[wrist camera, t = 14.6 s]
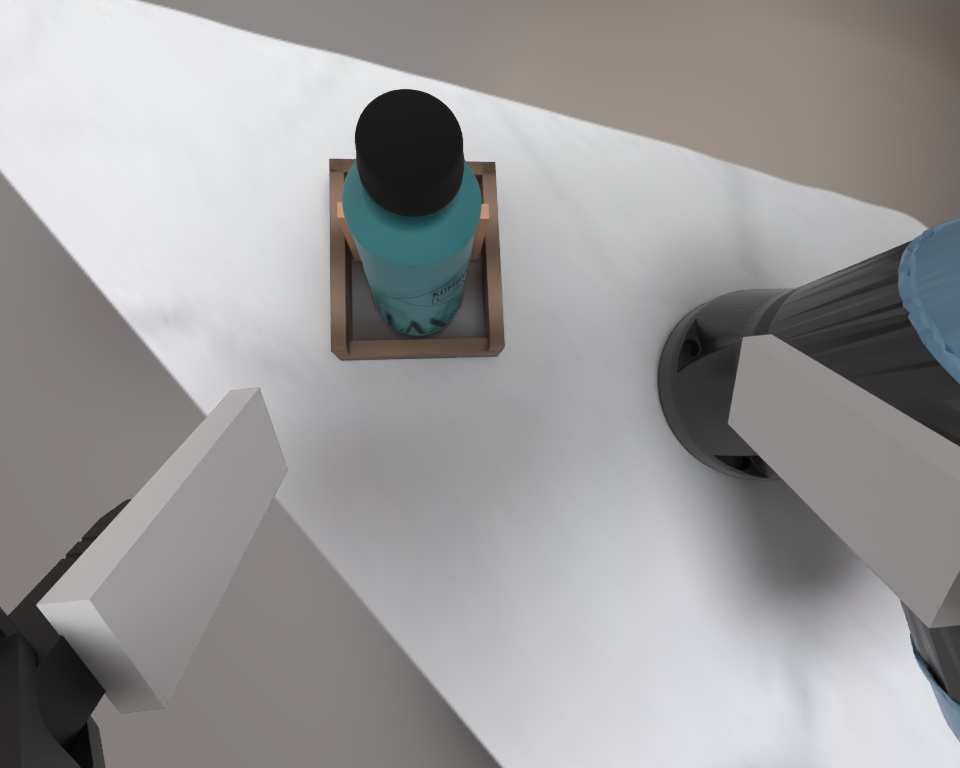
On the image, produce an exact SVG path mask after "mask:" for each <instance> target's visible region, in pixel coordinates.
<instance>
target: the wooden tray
mask: <svg viewBox="0 0 960 768" xmlns="http://www.w3.org/2000/svg"><path fill="white" fill-rule="evenodd" d="M355 161H356V159H329V169H330V289H331V352H333V353H334V354H335V355H336V356H337V357H338V358H339V359H340V360H378V359H417V358H456V357H495V356H498V355H499V353H500V352H501V351H502V350H503V348H504V347H505V343H504V324H503V305H502V285H501V266H500V246H499V227H498V208H497V188H496V169H495V162H467V164H468V165H469V166H470V168H471V169H472V171H473V173H474V175H475V177H476V179H477V182H478V184H479V188H480V192H481V200H482V204H489V222H488V225H487V229H486V233H485V236H484V240H483V244H482V248H481V251H480V255H479V259H478V261H469V264H470V263H471V262H472V264H470V265H471V266H470V265H468V268H469V269H467V272H468V273H466V276H467V275H468V276H467V277H468V278H465V282H466V283H465V282H464V283H465V286H464V287H463V292H464V293H463V292H462V296H461V298H462V297H463V296H464V297H463V301H462V303H461V307H460V304H459V307H460V309H459V308H458V310H457V313H456V315H455V316H454V318H453V319H454V320H453V319H452V320H451V321H452V322H450V324H448V327H447V325H446V326H445V327H444V328H442V330H439V331H438V332H436V333H433V334H434V335H433V334H429V335H422V336H415V335H413V336H412V335H407V334H405V333H404V334H403V333H402V332H401V334H400V332H399V331H396V329H395V330H394V329H393V327H392V328H391V326H390V325H389V324H388V323H387V322H386V321H385V320H384V319H383V317H382V316H381V314H380V313H379V311H378V307H377V305H376V304H375V303H376V302H375V299H373V300H372V298H374V296H373V294H372V293H370V292H371V288H370V285H369V283H368V280H367V277H366V274H365V271H364V270H363V269H364V268H363V264H362V261H355V259H354V257H353V254H352V252H351V250H350V247H349V245H348V242H347V240H346V238H345V235H344V233H343V230H342V228H341V225H340V223H339V221H338V218H337V202H342V191H343V185H344V182H345V179H346V176H347V174H348V172H349V170H350V168H351V166H352V165H353V163H354V162H355ZM470 267H471V268H470ZM361 268H362V269H361ZM362 271H363V272H362ZM363 274H364V275H363ZM364 276H365V277H364ZM365 279H366V280H365ZM366 282H367V283H368V285H367V283H366ZM466 284H467V285H466ZM368 287H369V288H368ZM465 287H466V288H465ZM369 290H370V292H369ZM463 294H464V295H463ZM371 295H372V296H371ZM371 297H372V298H371ZM373 301H374V303H373ZM460 302H461V300H460ZM374 304H375V306H376V308H375V306H374ZM376 309H377V310H376ZM379 315H380V317H379ZM382 319H383V320H382ZM385 322H386V323H385ZM387 324H388V325H387ZM388 326H389V327H388ZM443 329H444V330H443ZM440 331H441V332H440ZM406 335H407V336H406ZM430 335H431V336H430ZM411 336H412V337H411ZM425 336H426V337H425Z"/></svg>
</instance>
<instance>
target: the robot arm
mask: <svg viewBox="0 0 960 768" xmlns="http://www.w3.org/2000/svg"><path fill="white" fill-rule="evenodd" d="M659 393H660V399H661V403H662V407H663V410H664V413H665V416H666V418H667V421H668V423H669V425H670V427H671V429H672V430H673V432H674V434H675V435H676V437H677V438H678V439H679V441H680V442H681V443H682V445H683V446H684V447H685V448H686V449H687V450H688V451H689V452H690V453H691V454H692V455H693V456H694V457H696V458H697V459H698V460H700V461H701V462H702V463H704V464H705V465H707V466H709V467H711V468H712V469H714V470H717V471H719V472H721V473H724V474H727V475H731V476H735V477H741V478H750V479H759V480H775V479H783V480H784V481H785V482H786V483H787V484H788V485H789V486H790V487H791V488H792V489H793V490H794V491H795V492H796V494H797V495H798V496H799V497H800V498H801V499H802V500H803V501H804V502H805V503H806V504H807V505H808V506H809V507H810V508H811V509H812V510H813V511H814V512H815V513H816V514H817V515H818V516H819V517H820V518H821V519H822V520H823V521H824V522H825V523H826V524H827V525H828V526H829V527H830V528H831V529H832V530H833V531H834V532H835V533H836V534H837V535H838V536H839V537H840V538H841V539H842V540H843V541H844V542H845V543H846V544H847V545H848V546H849V547H850V548H851V550H852V551H853V552H854V553H855V554H856V555H857V556H858V557H859V558H860V559H861V560H862V561H863V562H864V563H865V564H866V565H867V566H868V567H869V568H870V569H871V570H872V571H873V572H874V573H875V574H876V575H877V576H878V577H879V578H880V579H881V580H882V581H883V582H884V583H885V584H886V585H887V586H888V587H889V588H890V589H891V590H892V591H893V592H894V593H895V594H896V595H897V596H898V597H899V598H900V601H901V604H902V607H903V610H904V613H905V616H906V620H907V623H908V626H909V629H910V632H911V633H910V638H911V644H912V647H913V652H914V655H915V659H916V661H917V663H918V665H919V667H920V668H921V670H922V671H923V673H924V675H925V676H926V678H927V679H928V680H929V681H930V684H931V686H932V689H933V691H934V694H935V696H936V699H937V701H938V704H939V706H940V709H941V711H942V714H943V716H944V718H945V720H946V722H947V724H948V725H949V727H950V729H951V730H952V732H953V733H954V735H955V736H956V738H957V739H958V740H959V742H960V218H959V219H954V220H951V221H947V222H944V223H941V224H939V225H936V226H934V227H932V228H930V229H928V230H926V231H924V232H923V234H922V235H920V236H918V237H917V238H915V239H913V240H912V241H910V242H907V243H905V244H903V245H900V246H898V247H895V248H893V249H891V250H888V251H886V252H883V253H881V254H879V255H876V256H874V257H872V258H869V259H867V260H864V261H862V262H860V263H857V264H855V265H852V266H850V267H848V268H845V269H843V270H840V271H838V272H835V273H833V274H830V275H828V276H825V277H823V278H820V279H818V280H815V281H813V282H810V283H808V284H806V285H804V286H801V287H799V288H796V289H749V290H741V291H736V292H732V293H728V294H725V295H722V296H720V297H718V298H715V299H713V300H711V301H709V302H707V303H705V304H703V305H701V306H699V307H698V308H696V309H695V310H693V311H692V312H690V313H689V314H688V315H687V316H686V317H684V318H683V319H682V320H681V322H680V323H679V324H678V325H677V326H676V328H675V329H674V330H673V332H672V333H671V335H670V337H669V339H668V341H667V343H666V345H665V348H664V350H663V353H662V357H661V362H660V367H659ZM287 470H288V469H287V466H286V463H285V460H284V457H283V454H282V451H281V448H280V446H279V443H278V440H277V437H276V434H275V431H274V428H273V425H272V422H271V420H270V417H269V414H268V411H267V408H266V405H265V402H264V399H263V396H262V394H261V391H260V388H249V389H240V390H231V391H230V392H229V393H228V394H227V395H226V397H225V398H224V399H223V400H222V401H221V402H220V403H219V404H218V405H217V406H216V408H215V409H214V410H213V411H212V412H211V413H210V414H209V415H208V416H207V417H206V419H205V420H204V421H203V422H202V423H201V424H200V425H199V426H198V427H197V428H196V430H195V431H194V432H193V433H192V434H191V435H190V436H189V437H188V438H187V439H186V441H185V442H184V443H183V444H182V445H181V446H180V447H179V448H178V450H176V452H175V453H174V454H173V455H172V456H171V457H170V458H169V459H168V460H167V461H166V463H165V464H164V465H163V466H162V467H161V468H160V469H159V470H158V471H157V473H156V474H155V475H154V476H153V477H152V478H151V479H150V480H149V481H148V482H147V484H146V485H145V486H144V487H143V488H142V489H141V490H140V491H139V492H138V493H137V495H136V496H135V497H134V498H133V499H129V500H126V501H124V502H123V503H121V504H120V505H118V506H117V507H116V508H114V509H113V510H111V511H110V512H108V513H107V514H106V515H104V516H103V517H101V518H100V519H99V520H98V521H97V522H96V523H95V525H94V526H93V527H92V528H91V529H90V530H89V531H88V532H87V533H86V534H85V535H84V536H83V537H82V541H81V542H77V543H76V545H75V546H74V547H73V548H72V549H71V550H70V551H69V552H68V553H67V554H66V558H65V559H61V560H60V562H58V564H57V565H56V566H55V567H54V568H53V569H52V570H51V571H50V572H49V573H48V574H47V575H46V576H45V577H44V578H43V579H42V580H41V582H40V583H39V584H38V585H37V586H36V587H35V588H34V589H33V590H32V591H31V592H30V593H29V594H28V595H27V596H26V598H24V599H23V601H22V602H21V603H20V604H19V605H18V606H17V607H16V608H15V609H14V610H13V611H12V612H11V613H10V614H9V615H8V616H7V615H6V614H5V612H4V611H3V610H2V609H1V607H0V768H106V767H105V762H104V755H103V750H102V744H101V738H100V732H99V728H98V726H97V724H96V723H95V721H94V719H93V718H92V717H91V716H90V715H91V714H92V712H93V710H94V709H95V707H96V706H97V704H98V703H99V701H100V699H101V698H102V696H103V695H104V693H105V694H106V696H107V697H108V698H109V700H110V701H111V702H112V703H113V705H114V706H115V707H116V709H117V710H118V711H119V712H120V713H130V712H139V711H149V710H159V709H165V708H166V706H167V704H168V702H169V700H170V698H171V696H172V694H173V693H174V691H175V688H176V687H177V685H178V683H179V681H180V679H181V677H182V675H183V673H184V671H185V669H186V667H187V665H188V663H189V661H190V659H191V657H192V655H193V653H194V652H195V649H196V648H197V645H198V644H199V642H200V640H201V638H202V636H203V634H204V632H205V630H206V628H207V626H208V624H209V622H210V620H211V618H212V616H213V614H214V612H215V610H216V609H217V607H218V604H219V603H220V601H221V599H222V597H223V595H224V593H225V591H226V589H227V587H228V585H229V583H230V581H231V579H232V577H233V575H234V573H235V572H236V569H237V568H238V566H239V564H240V561H241V560H242V558H243V556H244V554H245V552H246V550H247V548H248V546H249V544H250V542H251V540H252V538H253V536H254V534H255V532H256V530H257V529H258V526H259V524H260V523H261V521H262V519H263V517H264V515H265V513H266V511H267V509H268V507H269V505H270V503H271V501H272V499H273V497H274V495H275V493H276V492H277V490H278V488H279V486H280V484H281V482H282V480H283V478H284V476H285V474H286V472H287Z"/></svg>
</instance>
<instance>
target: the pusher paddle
mask: <svg viewBox="0 0 960 768" xmlns="http://www.w3.org/2000/svg"><path fill="white" fill-rule="evenodd" d="M337 218H338V221H339V223H340V225H341V228H342V230H343V233H344V235H345V238H346V240H347V242H348V245H349V247H350V250H351V252H352V254H353V257H354V259H355V261H361V258H360V255H359V252H358V249H357V247H356V244H355V241H354V238H353V235H352V234H351V232H350V230H349V228H348V225H347V223H346V220H345V217H344V213H343V208H342V202H337ZM488 222H489V204H482V209H481V216H480V221H479V224H478V227H477V230H476V232H475V234H476V235H474V239H473V247H472V251H471V256H470V258H471V259H470V260H469V261H478V259H479V255H480V251H481V248H482V244H483V240H484V236H485V233H486V229H487V225H488ZM474 250H475V252H474ZM473 255H474V256H473ZM472 256H473V257H472ZM472 258H473V260H472Z"/></svg>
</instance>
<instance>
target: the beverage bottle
mask: <svg viewBox="0 0 960 768" xmlns="http://www.w3.org/2000/svg"><path fill="white" fill-rule="evenodd" d="M355 145H356V161H355V162H354V163H353V165H352V166H351V168H350V170H349V172H348V174H347V176H346V179H345V182H344V185H343V191H342V208H343V213H344V217H345V220H346V223H347V225H348V228H349V230H350V232H351V234H352V235H353V238H354V241H355V244H356V247H357V249H358V252H359V255H360V258H361V261H362V264H363V268H364V269H363V270H364V271H365V274H366V277H367V280H368V283H369V285H370V288H371V292H370V290H369V292H370V293H372V294H373V296H374V298H372V297H371V298H372V300H373V299H375V302H376V303H375V304H376V305H377V307H378V311H379V313H380V314H381V316H382V317H383V319H384V320H385V321H386V322H387V323H388V324H389V325H390V326H391V328H392V327H393V329H394V330H395V329H396V331H399V332H400V334H401V332H402V333H403V334H404V333H405V334H407V335H412V336H413V335H415V336H422V335H429V334H433V333H436V332H438V331H439V330H442V328H444V327H445V326H446V325H447V327H448V324H450V322H452V321H451V320H452V319H453V318H454V316H455V315H456V313H457V310H458V308H459V309H460V307H461V303H462V301H463V297H464V296H463V297H462V298H461V296H462V292H463V287H464V286H465V283H466V282H465V278H468V277H467V276H468V275H467V276H466V273H468V272H467V269H469V268H468V265H470V264H472V262H471V263H470V264H469V260H470V259H471V258H470V256H471V251H472V247H473V239H474V235H476V234H475V232H476V230H477V227H478V224H479V221H480V216H481V209H482V200H481V192H480V188H479V184H478V182H477V179H476V177H475V175H474V173H473V171H472V169H471V168H470V166H469V165H468V164H467V162H466V161H465V160H464V154H463V137H462V132H461V128H460V125H459V123H458V121H457V119H456V117H455V116H454V114H453V113H452V111H451V110H450V109H449V108H448V107H447V106H446V105H445V104H444V103H443V102H442V101H440V100H439V99H437V98H436V97H434V96H432V95H430V94H428V93H425V92H422V91H418V90H411V89H400V90H393V91H389V92H387V93H384V94H382V95H380V96H378V97H377V98H375V99H374V100H373V101H372V102H370V103H369V104H368V105H367V107H366V108H365V109H364V110H363V112H362V114H361V115H360V118H359V120H358V123H357V127H356V132H355ZM474 252H475V250H474ZM473 256H474V255H473ZM473 256H472V257H473ZM472 260H473V258H472ZM470 266H471V265H470ZM470 268H471V267H470ZM361 269H362V268H361ZM362 272H363V271H362ZM363 275H364V274H363ZM364 277H365V276H364ZM365 280H366V279H365ZM464 282H465V283H464ZM366 283H367V282H366ZM368 283H367V285H368ZM466 285H467V284H466ZM368 288H369V287H368ZM465 288H466V287H465ZM463 293H464V292H463ZM463 295H464V294H463ZM371 296H372V295H371ZM460 300H461V302H460ZM373 303H374V301H373ZM375 304H374V306H375ZM459 304H460V307H459ZM375 308H376V306H375ZM376 310H377V309H376ZM379 317H380V315H379ZM383 319H382V320H383ZM453 320H454V319H453ZM386 322H385V323H386ZM388 324H387V325H388ZM388 327H389V326H388ZM443 330H444V329H443ZM440 332H441V331H440ZM407 335H406V336H407ZM433 335H434V334H433ZM412 336H411V337H412ZM430 336H431V335H430ZM425 337H426V336H425Z"/></svg>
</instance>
